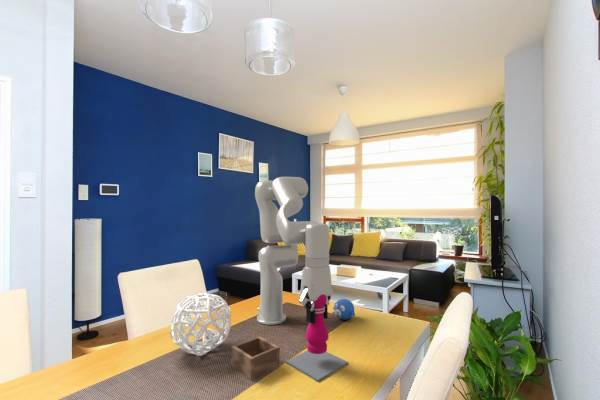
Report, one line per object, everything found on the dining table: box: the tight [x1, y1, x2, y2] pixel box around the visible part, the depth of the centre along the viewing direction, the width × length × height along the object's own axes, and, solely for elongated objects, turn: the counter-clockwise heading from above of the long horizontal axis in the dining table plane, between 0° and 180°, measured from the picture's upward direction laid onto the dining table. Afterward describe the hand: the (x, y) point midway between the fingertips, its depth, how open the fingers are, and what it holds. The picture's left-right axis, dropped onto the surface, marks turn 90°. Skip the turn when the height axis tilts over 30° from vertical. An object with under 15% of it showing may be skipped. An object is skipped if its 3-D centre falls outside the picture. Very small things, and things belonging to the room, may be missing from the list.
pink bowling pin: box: [305, 294, 329, 354], centre depth 96 cm, size 7×7×20 cm
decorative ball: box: [169, 292, 232, 357], centre depth 104 cm, size 20×20×19 cm
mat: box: [285, 350, 349, 382], centre depth 96 cm, size 14×14×1 cm
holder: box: [230, 336, 281, 381], centre depth 95 cm, size 11×11×6 cm
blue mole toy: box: [331, 298, 356, 320], centre depth 132 cm, size 12×12×8 cm
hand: (317, 319), depth 96 cm, fingers closed on pink bowling pin, 5 cm apart
